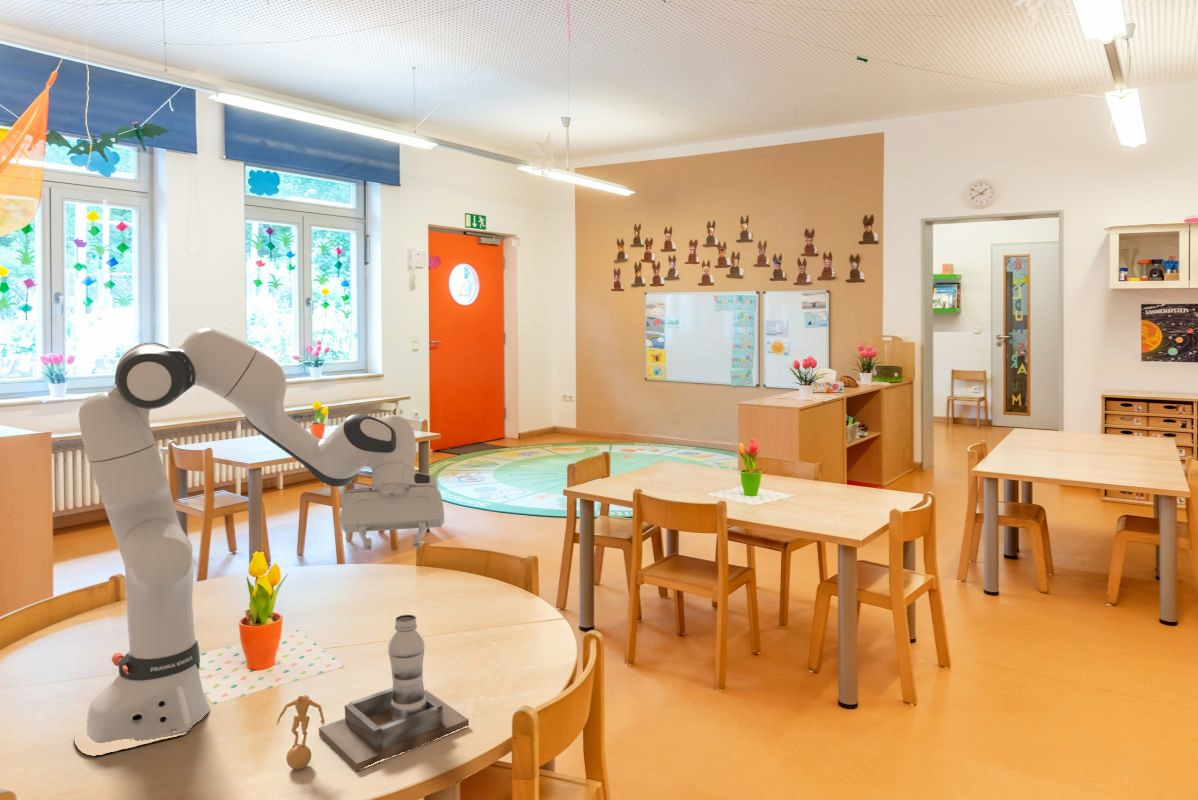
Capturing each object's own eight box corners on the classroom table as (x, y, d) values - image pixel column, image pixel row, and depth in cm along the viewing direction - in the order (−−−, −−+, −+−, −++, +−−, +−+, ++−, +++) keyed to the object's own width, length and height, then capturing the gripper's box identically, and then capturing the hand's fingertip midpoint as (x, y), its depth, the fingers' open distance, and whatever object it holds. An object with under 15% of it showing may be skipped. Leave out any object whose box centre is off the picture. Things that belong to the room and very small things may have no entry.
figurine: (270, 773, 140) (266, 706, 138) (286, 754, 146) (282, 689, 144) (318, 774, 139) (314, 707, 138) (332, 755, 145) (328, 690, 144)
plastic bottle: (420, 732, 150) (417, 626, 147) (384, 729, 151) (381, 623, 148) (432, 715, 156) (429, 612, 154) (398, 712, 157) (395, 610, 155)
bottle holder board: (356, 771, 140) (355, 744, 139) (319, 735, 152) (317, 709, 151) (468, 727, 154) (467, 701, 154) (426, 696, 166) (425, 673, 166)
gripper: (339, 481, 166) (334, 542, 157) (443, 476, 169) (444, 535, 161) (343, 497, 171) (339, 558, 162) (444, 492, 174) (445, 551, 166)
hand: (392, 547), depth 161 cm, fingers open, 8 cm apart
